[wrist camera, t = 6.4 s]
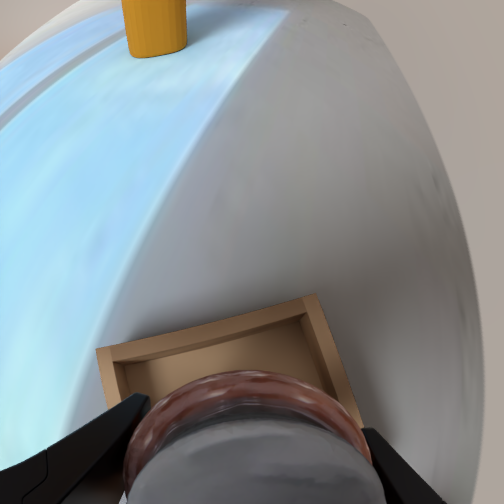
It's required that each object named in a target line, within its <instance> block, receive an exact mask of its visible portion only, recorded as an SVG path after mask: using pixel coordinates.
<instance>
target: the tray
mask: <svg viewBox="0 0 504 504" xmlns="http://www.w3.org/2000/svg"><path fill="white" fill-rule="evenodd" d="M96 354H97V360H98V365H99V371H100V376H101V380H102V385H103V390H104V394H105V398H106V403H107V407H108V410H109V409H110V408H112V407H114V406H115V405H117V404H118V403H120V402H121V401H123V400H124V399H126V398H127V397H129V396H130V395H132V394H133V393H135V392H139V393H143V394H146V395H148V396H150V400H151V408H152V407H153V406H154V405H155V404H156V403H157V402H158V401H159V400H161V399H162V398H164V397H165V396H166V395H168V394H169V393H171V392H173V391H174V390H176V389H178V388H180V387H182V386H183V385H185V384H187V383H189V382H192V381H194V380H197V379H200V378H203V377H205V376H209V375H212V374H216V373H221V372H227V371H234V370H262V371H270V372H275V373H281V374H285V375H289V376H292V377H294V378H297V379H300V380H303V381H305V382H307V383H310V384H312V385H314V386H315V387H317V388H319V389H321V390H323V391H324V392H326V393H327V394H328V395H330V396H331V397H332V398H334V399H335V400H336V401H338V402H339V403H340V404H341V405H342V406H343V407H344V408H345V409H346V410H347V411H348V412H349V414H350V415H351V416H352V417H353V419H354V420H355V421H356V422H357V424H358V426H359V427H360V429H361V428H364V425H363V422H362V419H361V416H360V413H359V410H358V407H357V404H356V402H355V399H354V396H353V393H352V390H351V387H350V384H349V381H348V378H347V376H346V373H345V370H344V367H343V364H342V361H341V359H340V356H339V353H338V350H337V348H336V345H335V342H334V339H333V337H332V334H331V331H330V329H329V326H328V323H327V321H326V318H325V315H324V313H323V310H322V308H321V305H320V302H319V300H318V297H317V295H316V293H314V294H311V295H308V296H304V297H301V298H298V299H294V300H291V301H288V302H284V303H281V304H277V305H274V306H270V307H267V308H263V309H260V310H256V311H252V312H249V313H245V314H241V315H238V316H234V317H230V318H226V319H223V320H219V321H215V322H211V323H207V324H203V325H199V326H195V327H191V328H187V329H183V330H179V331H175V332H170V333H166V334H162V335H158V336H153V337H149V338H144V339H140V340H135V341H131V342H126V343H121V344H116V345H112V346H107V347H102V348H97V349H96Z"/></svg>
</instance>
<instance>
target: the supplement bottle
mask: <svg viewBox="0 0 504 504" xmlns="http://www.w3.org/2000/svg"><path fill="white" fill-rule="evenodd" d="M122 475H123V481H124V489H125V494H126V498H127V503H126V504H387V503H386V499H385V496H384V489H383V486H382V483H381V481H380V478H379V476H378V474H377V472H376V470H375V469H374V467H373V466H372V460H371V454H370V450H369V447H368V445H367V442H366V439H365V436H364V434H363V432H362V431H361V429H360V427H359V426H358V424H357V422H356V421H355V420H354V419H353V417H352V416H351V415H350V414H349V412H348V411H347V410H346V409H345V408H344V407H343V406H342V405H341V404H340V403H339V402H338V401H336V400H335V399H334V398H332V397H331V396H330V395H328V394H327V393H326V392H324V391H323V390H321V389H319V388H317V387H315V386H314V385H312V384H310V383H307V382H305V381H303V380H300V379H297V378H294V377H292V376H289V375H285V374H281V373H275V372H270V371H262V370H234V371H227V372H221V373H216V374H212V375H209V376H205V377H203V378H200V379H197V380H194V381H192V382H189V383H187V384H185V385H183V386H182V387H180V388H178V389H176V390H174V391H173V392H171V393H169V394H168V395H166V396H165V397H164V398H162V399H161V400H159V401H158V402H157V403H156V404H155V405H154V406H153V407H152V408H151V409H150V410H149V411H148V413H147V414H146V415H145V417H144V418H143V419H142V421H141V422H140V423H139V425H138V426H137V428H136V429H135V430H134V432H133V435H132V437H131V438H130V442H129V443H128V445H127V450H126V453H125V458H124V461H123V474H122Z"/></svg>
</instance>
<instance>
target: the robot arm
mask: <svg viewBox="0 0 504 504" xmlns="http://www.w3.org/2000/svg"><path fill="white" fill-rule="evenodd" d="M150 409H151V400H150V396H148V395H146V394H143V393H139V392H135V393H133V394H132V395H130V396H129V397H127V398H126V399H124V400H123V401H121V402H120V403H118V404H117V405H115V406H114V407H112V408H110V409H109V410H107V411H106V412H104V413H103V414H101V415H100V416H98V417H97V418H95V419H93V420H92V421H90V422H89V423H87V424H85V425H84V426H82V427H81V428H79V429H77V430H76V431H74V432H73V433H71V434H69V435H68V436H66V437H64V438H63V439H61V440H60V441H58V442H56V443H55V444H53V445H51V446H50V447H48V448H47V450H46V449H44V450H43V451H41V452H39V453H38V454H36V455H34V456H32V457H30V458H28V459H26V460H25V461H23V462H21V463H18V464H16V465H14V466H12V467H9V468H7V469H4V470H2V471H0V504H119V502H120V499H121V497H122V495H123V493H124V491H125V489H124V481H123V475H122V474H123V461H124V458H125V453H126V450H127V445H128V443H129V442H130V438H131V437H132V435H133V432H134V430H135V429H136V428H137V426H138V425H139V423H140V422H141V421H142V419H143V418H144V417H145V415H146V414H147V413H148V411H149V410H150ZM361 431H362V432H363V434H364V436H365V439H366V442H367V445H368V447H369V450H370V454H371V460H372V466H373V467H374V469H375V470H376V472H377V474H378V476H379V478H380V481H381V483H382V486H383V489H384V496H385V499H386V503H387V504H447V503H446V502H445V501H442V498H441V497H440V496H439V495H438V494H437V493H436V492H435V491H434V490H433V489H432V488H431V487H430V486H429V485H428V484H427V483H426V482H425V481H424V480H423V479H422V478H421V477H420V476H419V475H418V474H417V473H416V472H415V471H414V470H413V469H412V468H411V467H410V465H409V464H408V463H407V462H406V461H405V460H404V459H403V458H402V457H401V456H400V455H399V454H398V453H397V452H396V451H395V450H394V449H393V448H392V447H391V446H390V445H389V443H388V442H387V441H386V440H385V439H384V438H383V437H382V436H381V435H380V434H379V433H378V432H377V431H376V430H375V429H374V428H361Z"/></svg>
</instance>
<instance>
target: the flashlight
mask: <svg viewBox="0 0 504 504" xmlns="http://www.w3.org/2000/svg"><path fill="white" fill-rule="evenodd" d="M121 1H122V8H123V15H124V22H125V29H126V35H127V41H128V47H129V51H130V54H131V55H132V56H133V57H136V58H147V57H154V56H159V55H164V54H169V53H173V52H177V51H179V50H181V49H183V48H184V47H185V46H186V44H187V23H186V0H121Z"/></svg>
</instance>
